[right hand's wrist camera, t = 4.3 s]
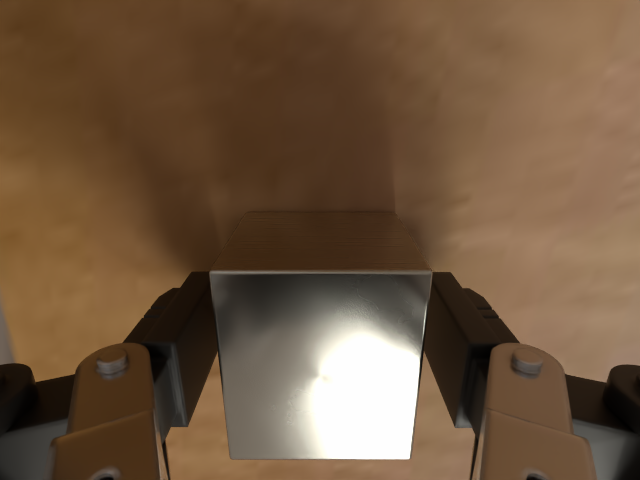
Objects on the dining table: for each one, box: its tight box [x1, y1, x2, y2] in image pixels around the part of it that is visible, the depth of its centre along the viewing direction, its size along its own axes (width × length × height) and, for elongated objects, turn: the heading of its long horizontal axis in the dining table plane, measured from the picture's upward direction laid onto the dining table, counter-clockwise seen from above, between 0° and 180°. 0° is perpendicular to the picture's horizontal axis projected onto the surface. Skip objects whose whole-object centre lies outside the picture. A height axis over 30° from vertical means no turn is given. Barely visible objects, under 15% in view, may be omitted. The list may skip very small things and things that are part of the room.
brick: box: [209, 212, 433, 460], centre depth 10 cm, size 5×4×4 cm
